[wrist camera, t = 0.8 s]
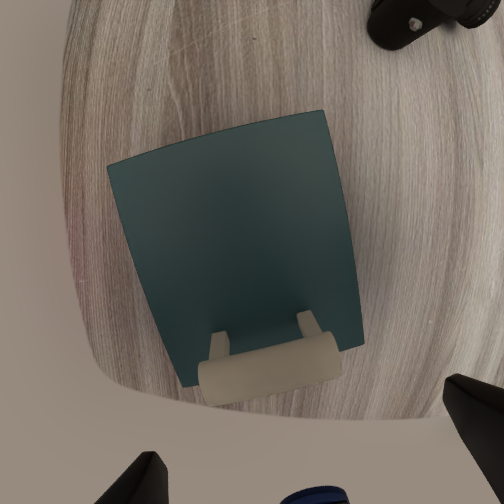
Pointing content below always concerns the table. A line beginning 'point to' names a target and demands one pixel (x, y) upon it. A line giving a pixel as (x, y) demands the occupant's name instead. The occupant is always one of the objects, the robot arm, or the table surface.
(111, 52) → the table surface
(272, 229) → the lid
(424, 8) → the camera
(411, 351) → the table surface
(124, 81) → the table surface
